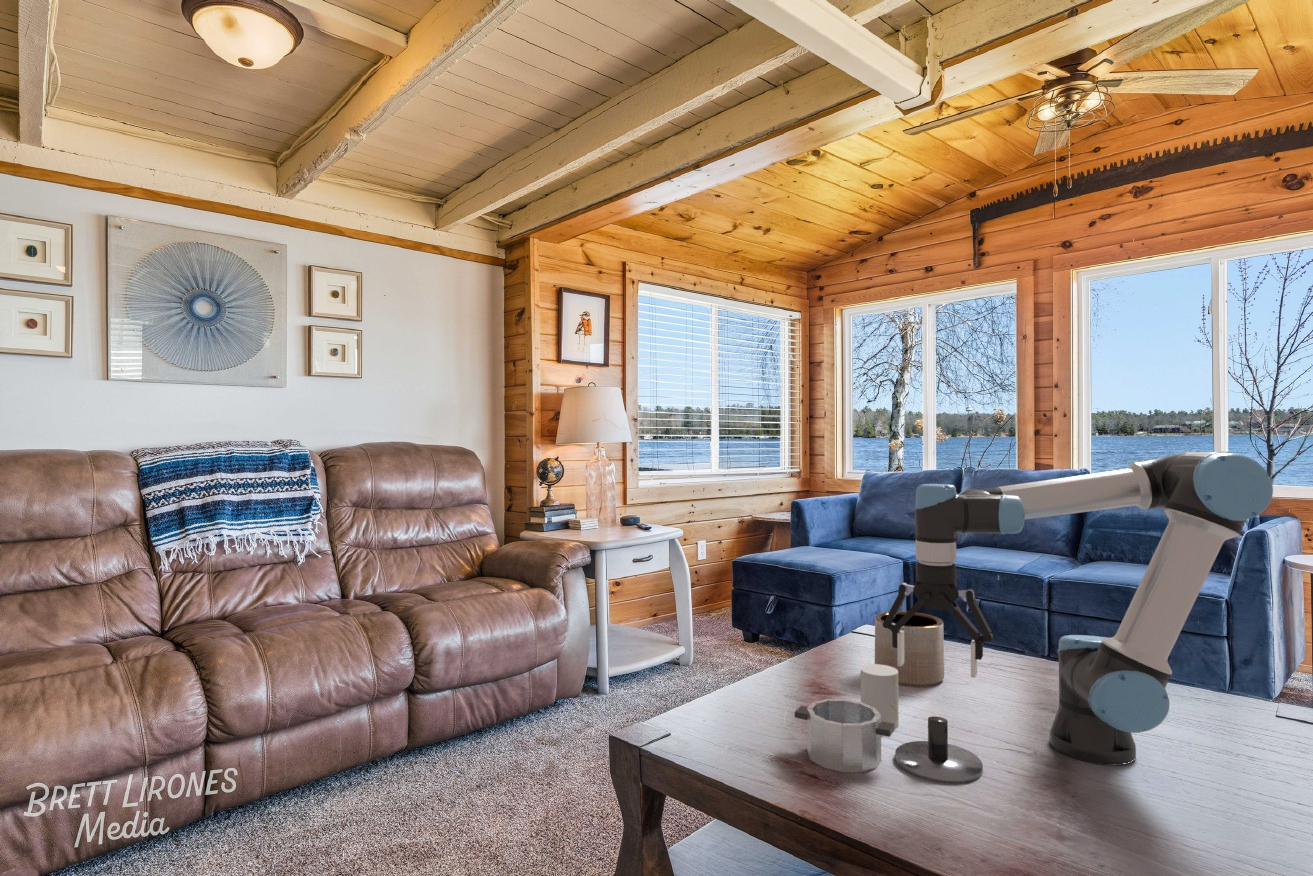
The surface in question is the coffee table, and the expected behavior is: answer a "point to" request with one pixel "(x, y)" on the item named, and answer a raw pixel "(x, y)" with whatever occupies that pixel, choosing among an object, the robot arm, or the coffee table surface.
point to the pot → (844, 734)
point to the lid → (938, 757)
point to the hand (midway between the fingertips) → (936, 670)
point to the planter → (913, 649)
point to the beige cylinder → (881, 691)
